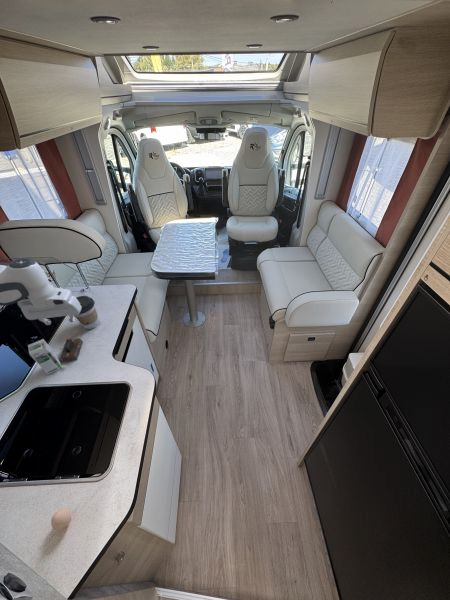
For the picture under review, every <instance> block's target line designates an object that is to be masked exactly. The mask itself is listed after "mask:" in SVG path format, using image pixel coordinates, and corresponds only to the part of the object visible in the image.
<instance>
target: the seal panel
mask: <svg viewBox="0 0 450 600" xmlns="http://www.w3.org/2000/svg"><path fill="white" fill-rule="evenodd" d="M71 340H72V341H73V343H74V344H73V346H72V349H71V352H66V350H65V349H64V348H63V347H61V348H59V350H62V351H61V354H60V356H59V360H60V361H62V362H63V363H65V362H72V361H77V360H78V358H79V356H80V353H81V350H82V346H83V343H84V342H83V340H82V339H81V337H79V338H71Z"/></svg>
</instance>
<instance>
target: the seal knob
mask: <svg viewBox="0 0 450 600" xmlns="http://www.w3.org/2000/svg"><path fill="white" fill-rule="evenodd" d="M71 339H72V338H71V337H68V338H67V337H66V339H65V342H64V345H63V347H62V348H63V349H65V350H66V352H71V349H72V346H73V344H74V343H73V341H72V340H71Z"/></svg>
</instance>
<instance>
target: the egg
mask: <svg viewBox="0 0 450 600" xmlns="http://www.w3.org/2000/svg"><path fill="white" fill-rule="evenodd" d="M71 520H72V512H71V511H70V509H68V508H60V509H58V510H57V511H55V512H54V513H53V515H52V517H51V521H50V524H51V527H52V529H54V530H56V531H61V530H64V529H65V528H66V527H67V526H68V525H69V524H70V522H71Z"/></svg>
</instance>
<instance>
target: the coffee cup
mask: <svg viewBox="0 0 450 600" xmlns="http://www.w3.org/2000/svg"><path fill="white" fill-rule="evenodd" d="M75 297H76V299H77V300H78V301H79V303H80V305H81V307H82V309H81V311H80V313H79V314H78V315H74V318H75V319H76V320H77V321H78V322H79V324H81V326H83V328H85V329H86V330H93V329H95V328H97V327H98V326H99V324H100V319H99V315H98V311H97V309H96V306H95V305H96V303H95V301H94V299H93V297H90V296H88V295H79V296H75Z"/></svg>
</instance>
